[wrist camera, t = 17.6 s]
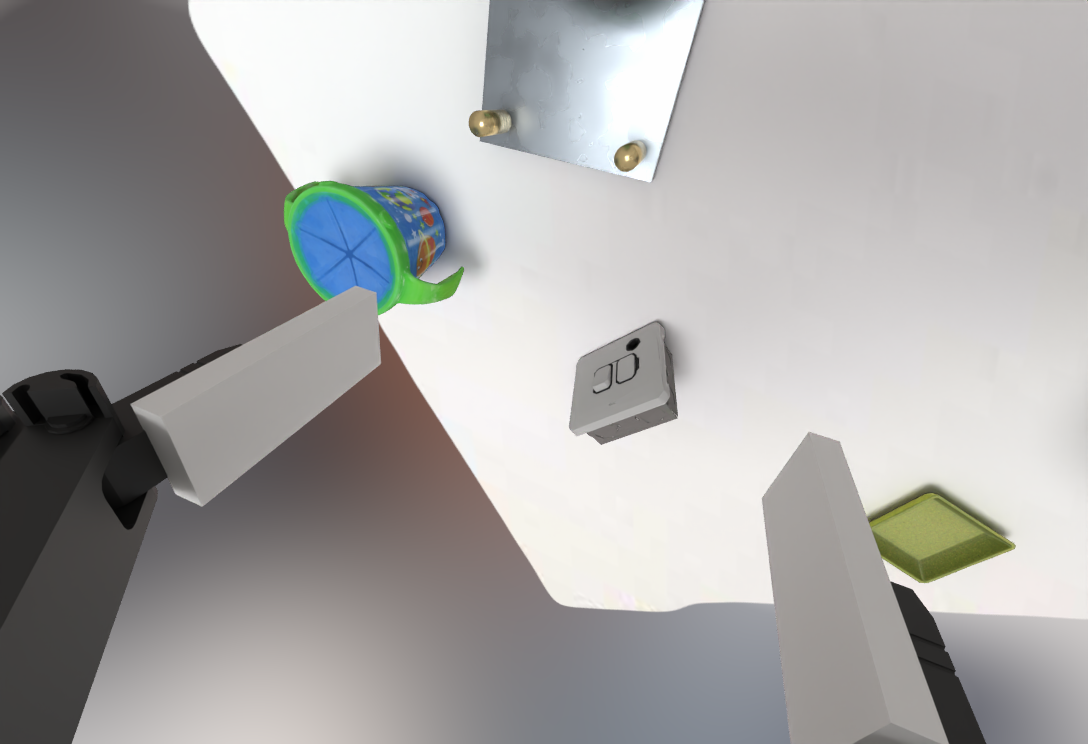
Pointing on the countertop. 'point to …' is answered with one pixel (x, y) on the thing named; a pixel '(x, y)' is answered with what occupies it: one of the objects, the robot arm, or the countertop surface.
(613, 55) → the post plate
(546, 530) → the countertop surface
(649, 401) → the electrical switch
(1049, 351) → the countertop surface
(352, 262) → the snack cup
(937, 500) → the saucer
